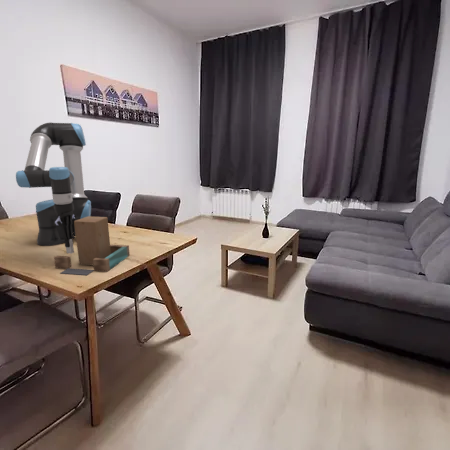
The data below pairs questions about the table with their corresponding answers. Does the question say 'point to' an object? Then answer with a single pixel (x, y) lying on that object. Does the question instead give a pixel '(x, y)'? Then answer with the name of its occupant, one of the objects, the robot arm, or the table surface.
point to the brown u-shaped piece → (99, 259)
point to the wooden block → (92, 239)
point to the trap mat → (77, 271)
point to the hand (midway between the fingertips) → (70, 252)
